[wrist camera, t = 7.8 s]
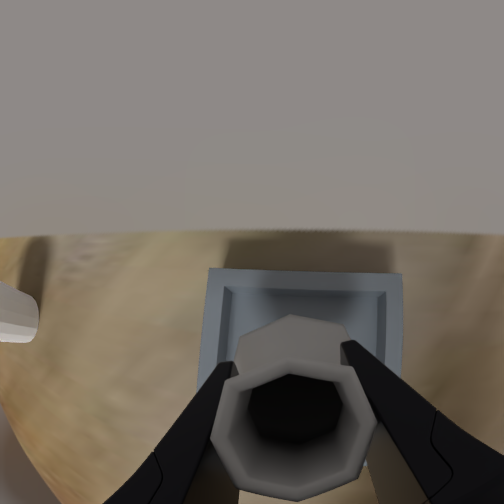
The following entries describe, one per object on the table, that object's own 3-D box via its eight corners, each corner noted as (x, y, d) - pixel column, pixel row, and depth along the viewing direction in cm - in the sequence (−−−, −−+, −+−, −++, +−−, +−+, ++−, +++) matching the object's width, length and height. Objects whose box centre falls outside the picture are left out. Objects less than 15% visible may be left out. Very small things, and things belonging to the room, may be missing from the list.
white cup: (49, 319, 24) (0, 306, 18) (25, 360, 23) (-21, 353, 17) (29, 278, 26) (-14, 260, 20) (7, 318, 25) (-35, 306, 19)
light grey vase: (223, 321, 15) (117, 271, 6) (356, 305, 15) (439, 230, 5) (233, 447, 13) (148, 546, 4) (368, 433, 12) (451, 523, 3)
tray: (377, 450, 16) (387, 463, 13) (205, 440, 19) (192, 452, 16) (389, 283, 20) (401, 273, 18) (220, 278, 23) (209, 267, 20)
